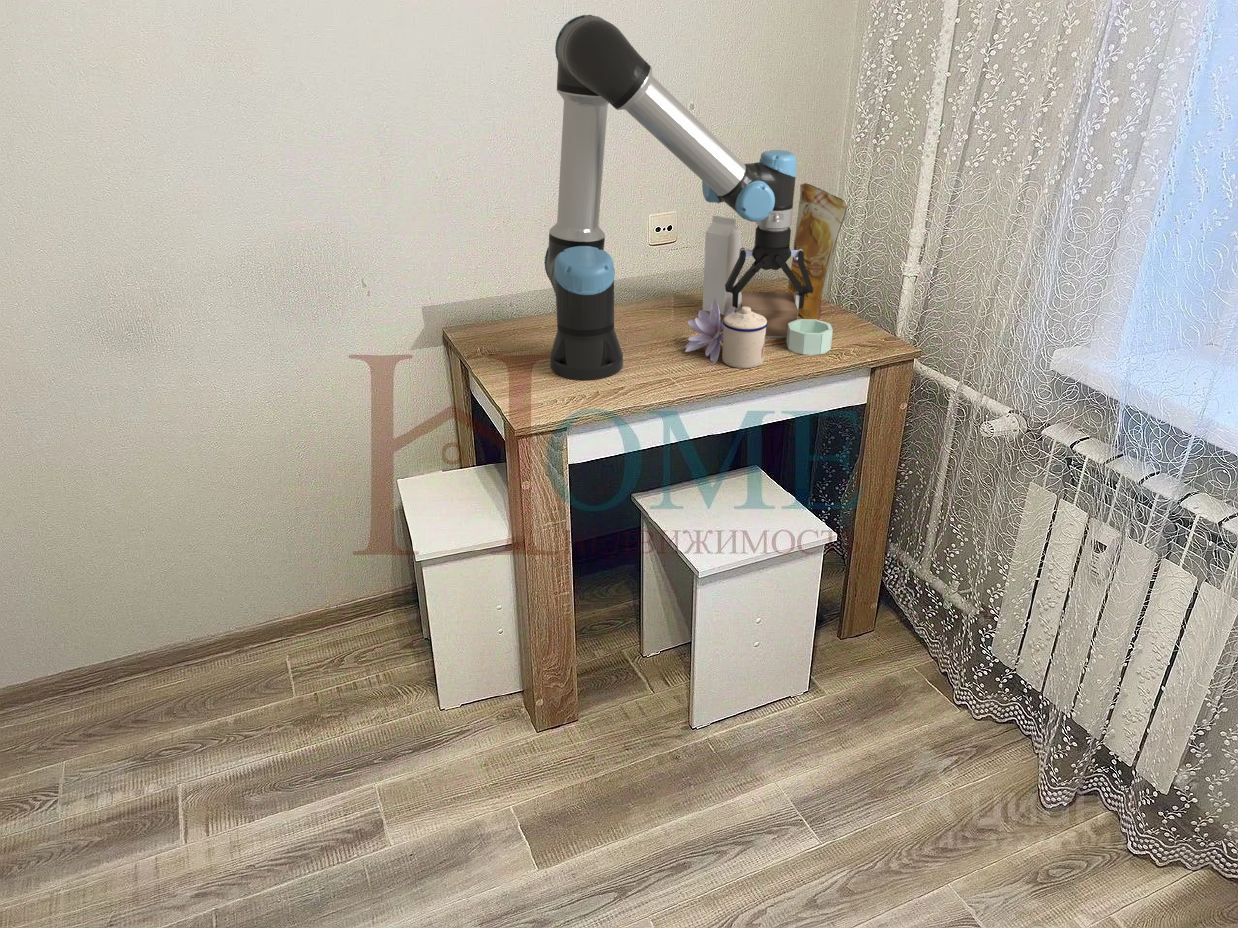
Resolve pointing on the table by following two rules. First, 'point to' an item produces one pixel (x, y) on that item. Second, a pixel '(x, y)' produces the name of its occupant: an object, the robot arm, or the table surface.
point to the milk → (720, 262)
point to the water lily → (708, 331)
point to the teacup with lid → (744, 339)
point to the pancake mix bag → (816, 242)
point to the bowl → (809, 336)
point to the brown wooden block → (772, 309)
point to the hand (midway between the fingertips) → (766, 321)
